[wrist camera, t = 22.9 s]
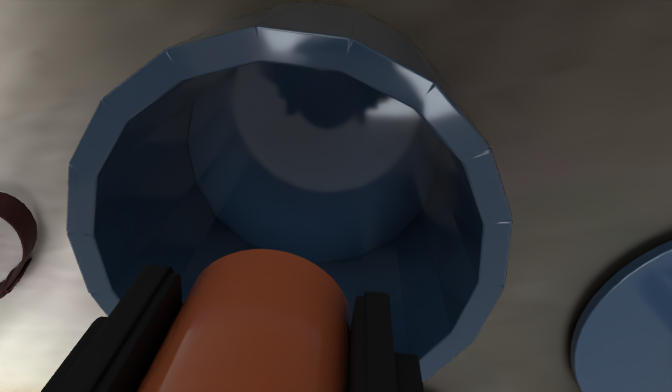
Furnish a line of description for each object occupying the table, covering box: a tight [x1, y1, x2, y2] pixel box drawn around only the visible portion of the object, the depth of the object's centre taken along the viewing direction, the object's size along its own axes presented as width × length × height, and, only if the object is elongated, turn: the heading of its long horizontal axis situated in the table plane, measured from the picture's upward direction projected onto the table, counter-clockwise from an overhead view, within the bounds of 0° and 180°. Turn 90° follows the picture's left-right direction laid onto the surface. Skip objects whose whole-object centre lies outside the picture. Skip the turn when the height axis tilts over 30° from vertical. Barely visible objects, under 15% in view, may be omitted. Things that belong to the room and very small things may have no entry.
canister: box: [67, 1, 513, 382], centre depth 17 cm, size 13×13×8 cm
